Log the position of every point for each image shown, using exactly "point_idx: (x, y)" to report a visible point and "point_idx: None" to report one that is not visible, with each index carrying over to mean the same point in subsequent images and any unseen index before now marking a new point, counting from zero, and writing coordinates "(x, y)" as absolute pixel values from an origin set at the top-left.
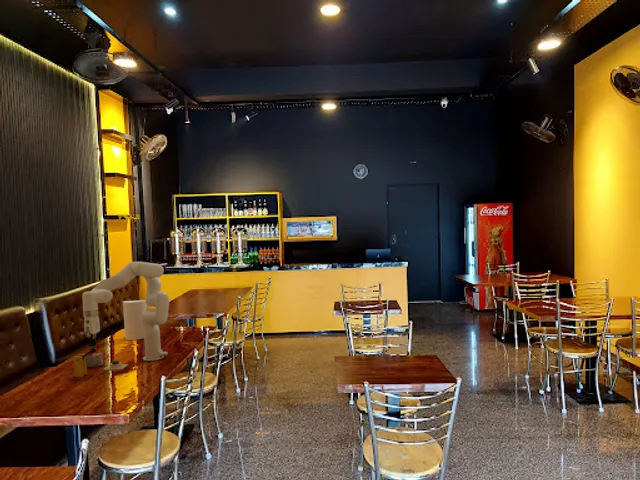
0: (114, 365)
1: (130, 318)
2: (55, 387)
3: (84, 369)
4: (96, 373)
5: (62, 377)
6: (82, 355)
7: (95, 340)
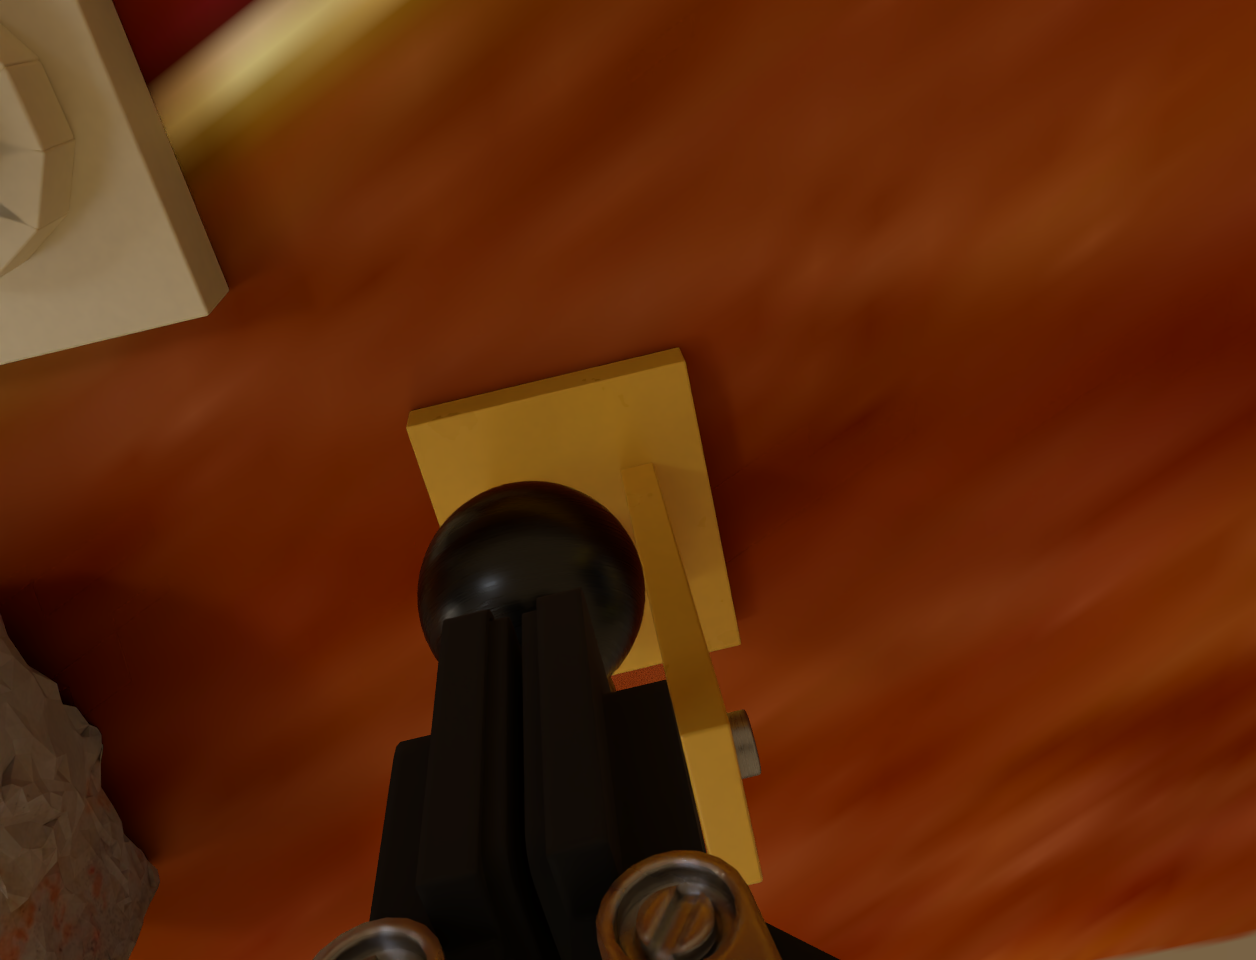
0: (17, 80)
1: None
2: (1051, 591)
3: None
4: (283, 426)
5: None
6: None
7: (479, 784)
